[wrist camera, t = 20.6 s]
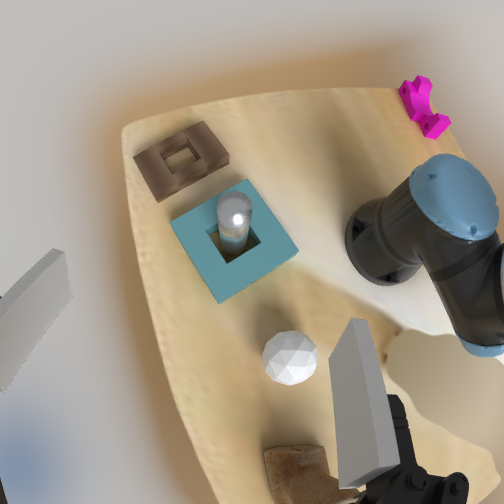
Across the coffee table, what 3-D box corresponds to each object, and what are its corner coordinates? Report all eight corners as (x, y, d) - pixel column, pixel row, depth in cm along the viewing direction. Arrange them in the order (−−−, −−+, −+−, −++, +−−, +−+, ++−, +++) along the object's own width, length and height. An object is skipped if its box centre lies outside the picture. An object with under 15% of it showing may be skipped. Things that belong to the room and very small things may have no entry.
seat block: (246, 187, 48) (247, 178, 46) (294, 255, 46) (299, 250, 43) (173, 229, 46) (169, 222, 43) (219, 304, 43) (218, 302, 40)
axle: (237, 226, 47) (240, 185, 33) (250, 246, 46) (259, 212, 32) (215, 238, 46) (209, 202, 32) (229, 259, 45) (228, 230, 32)
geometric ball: (286, 365, 44) (291, 403, 37) (250, 340, 42) (250, 379, 35) (323, 338, 42) (334, 375, 35) (288, 309, 40) (294, 347, 33)
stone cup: (340, 494, 36) (373, 537, 21) (274, 511, 34) (289, 562, 20) (333, 428, 39) (373, 463, 25) (261, 445, 38) (275, 492, 23)
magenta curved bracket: (397, 90, 60) (409, 72, 52) (416, 96, 60) (428, 78, 53) (416, 135, 56) (432, 117, 49) (435, 139, 56) (451, 123, 49)
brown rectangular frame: (204, 130, 51) (203, 120, 48) (229, 163, 49) (229, 154, 46) (137, 165, 48) (133, 157, 45) (158, 203, 47) (153, 195, 44)
